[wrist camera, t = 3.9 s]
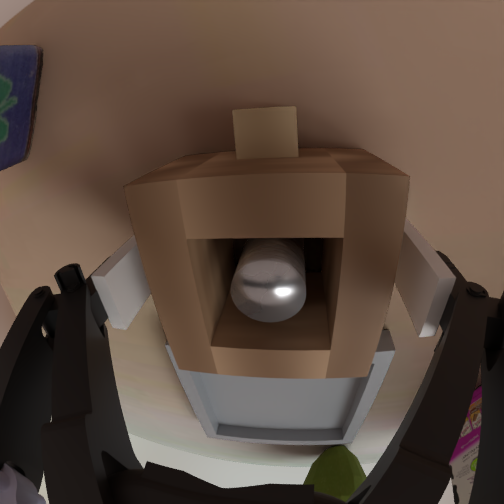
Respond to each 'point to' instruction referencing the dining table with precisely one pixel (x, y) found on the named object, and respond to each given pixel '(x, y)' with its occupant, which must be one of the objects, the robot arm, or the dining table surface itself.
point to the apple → (336, 473)
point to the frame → (271, 226)
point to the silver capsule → (270, 279)
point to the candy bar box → (467, 451)
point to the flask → (18, 100)
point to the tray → (285, 404)
